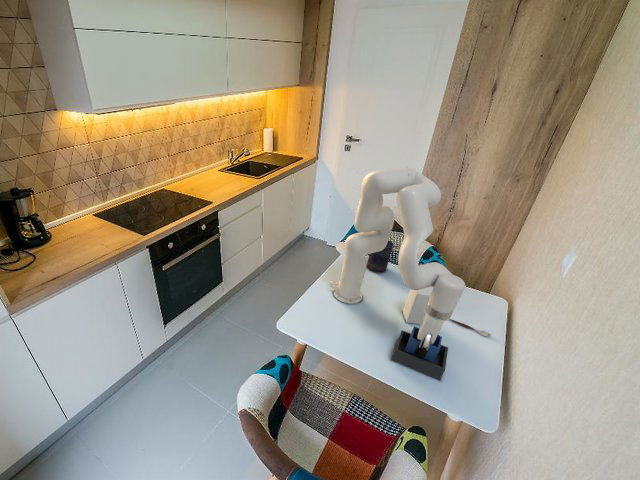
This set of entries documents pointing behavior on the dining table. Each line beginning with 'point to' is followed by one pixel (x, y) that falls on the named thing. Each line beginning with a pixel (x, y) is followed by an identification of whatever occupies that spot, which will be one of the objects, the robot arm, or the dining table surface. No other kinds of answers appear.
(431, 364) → the base bin
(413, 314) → the milk carton
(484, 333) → the fork
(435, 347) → the nested bin
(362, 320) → the dining table surface
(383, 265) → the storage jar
